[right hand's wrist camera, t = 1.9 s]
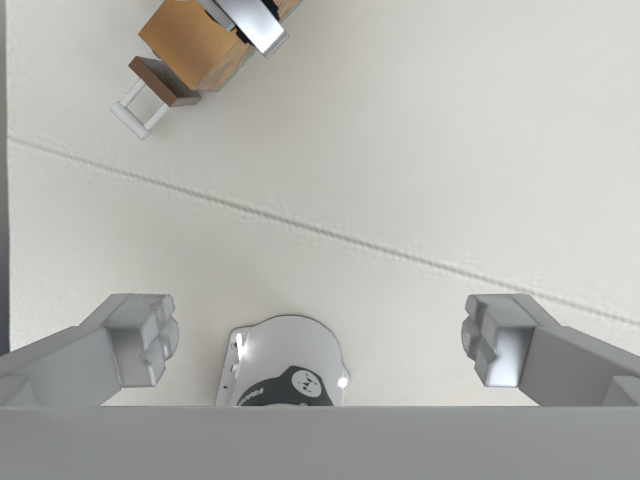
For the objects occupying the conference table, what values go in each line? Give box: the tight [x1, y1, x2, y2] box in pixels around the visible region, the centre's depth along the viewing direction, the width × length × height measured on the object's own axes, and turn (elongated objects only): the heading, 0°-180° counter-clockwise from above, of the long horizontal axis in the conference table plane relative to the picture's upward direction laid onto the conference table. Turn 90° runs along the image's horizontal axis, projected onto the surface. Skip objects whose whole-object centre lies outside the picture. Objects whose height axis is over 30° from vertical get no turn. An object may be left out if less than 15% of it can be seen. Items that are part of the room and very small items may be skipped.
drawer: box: [110, 51, 201, 140], centre depth 35 cm, size 22×5×7 cm, turn 132°
